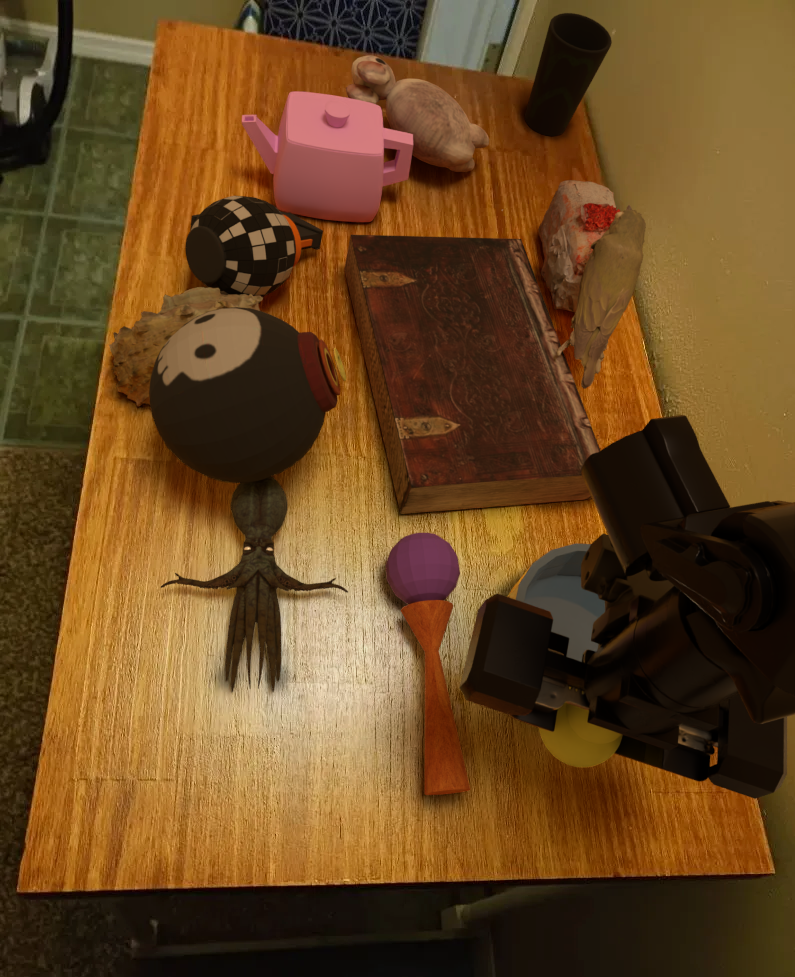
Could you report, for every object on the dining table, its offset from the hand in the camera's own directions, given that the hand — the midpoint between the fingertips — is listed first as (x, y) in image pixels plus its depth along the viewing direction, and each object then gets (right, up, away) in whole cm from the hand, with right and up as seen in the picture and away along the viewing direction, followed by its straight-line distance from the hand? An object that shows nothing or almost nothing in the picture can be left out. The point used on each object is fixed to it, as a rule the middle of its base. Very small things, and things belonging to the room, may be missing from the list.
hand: (570, 730), depth 54 cm
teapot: (-20, +49, +36) cm, 64 cm away
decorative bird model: (+8, +35, +26) cm, 45 cm away
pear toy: (0, 0, +1) cm, 1 cm away
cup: (+7, +64, +51) cm, 82 cm away
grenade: (-30, +38, +19) cm, 52 cm away
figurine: (-23, +8, +11) cm, 27 cm away
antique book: (-5, +27, +26) cm, 38 cm away
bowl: (+3, +3, +14) cm, 15 cm away
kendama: (-9, +2, +11) cm, 14 cm away
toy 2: (-3, +57, +43) cm, 72 cm away
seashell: (-31, +27, +21) cm, 46 cm away
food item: (+7, +40, +37) cm, 55 cm away
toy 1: (-30, +21, +10) cm, 38 cm away
